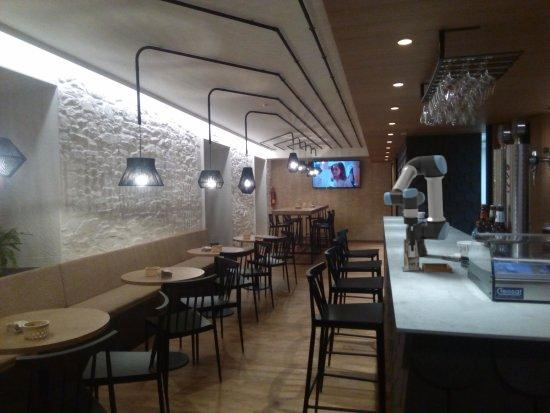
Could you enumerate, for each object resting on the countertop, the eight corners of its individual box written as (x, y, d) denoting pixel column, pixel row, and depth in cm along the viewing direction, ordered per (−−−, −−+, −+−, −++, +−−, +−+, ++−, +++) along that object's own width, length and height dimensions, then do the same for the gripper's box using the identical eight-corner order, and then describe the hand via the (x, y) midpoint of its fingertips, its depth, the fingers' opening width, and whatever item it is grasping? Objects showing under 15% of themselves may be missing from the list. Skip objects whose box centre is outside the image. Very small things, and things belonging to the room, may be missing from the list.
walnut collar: (421, 267, 242) (421, 263, 242) (448, 267, 239) (448, 263, 239) (424, 272, 229) (424, 267, 229) (452, 273, 225) (452, 268, 225)
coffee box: (420, 270, 232) (419, 240, 232) (408, 270, 233) (407, 241, 232) (415, 267, 241) (414, 238, 241) (403, 267, 242) (403, 238, 241)
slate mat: (401, 267, 244) (401, 266, 244) (420, 267, 242) (420, 266, 241) (402, 271, 232) (402, 270, 232) (422, 272, 230) (422, 271, 230)
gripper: (402, 215, 248) (403, 251, 249) (405, 218, 224) (405, 258, 225) (416, 214, 247) (416, 251, 248) (420, 218, 222) (420, 259, 223)
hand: (411, 255), depth 236 cm, fingers open, 13 cm apart
